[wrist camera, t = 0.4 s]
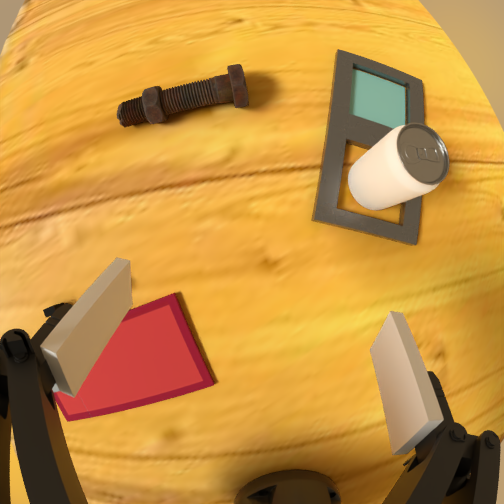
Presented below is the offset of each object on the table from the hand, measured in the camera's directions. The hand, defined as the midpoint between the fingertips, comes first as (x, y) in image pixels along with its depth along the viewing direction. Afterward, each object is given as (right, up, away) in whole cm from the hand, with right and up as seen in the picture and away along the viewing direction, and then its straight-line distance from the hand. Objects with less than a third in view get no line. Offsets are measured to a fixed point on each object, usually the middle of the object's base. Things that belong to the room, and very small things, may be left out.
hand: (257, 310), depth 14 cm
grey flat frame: (+15, +17, +19) cm, 29 cm away
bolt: (-9, +20, +19) cm, 29 cm away
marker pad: (+16, +23, +19) cm, 34 cm away
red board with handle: (-21, -11, +18) cm, 30 cm away
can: (+14, +11, +19) cm, 26 cm away
